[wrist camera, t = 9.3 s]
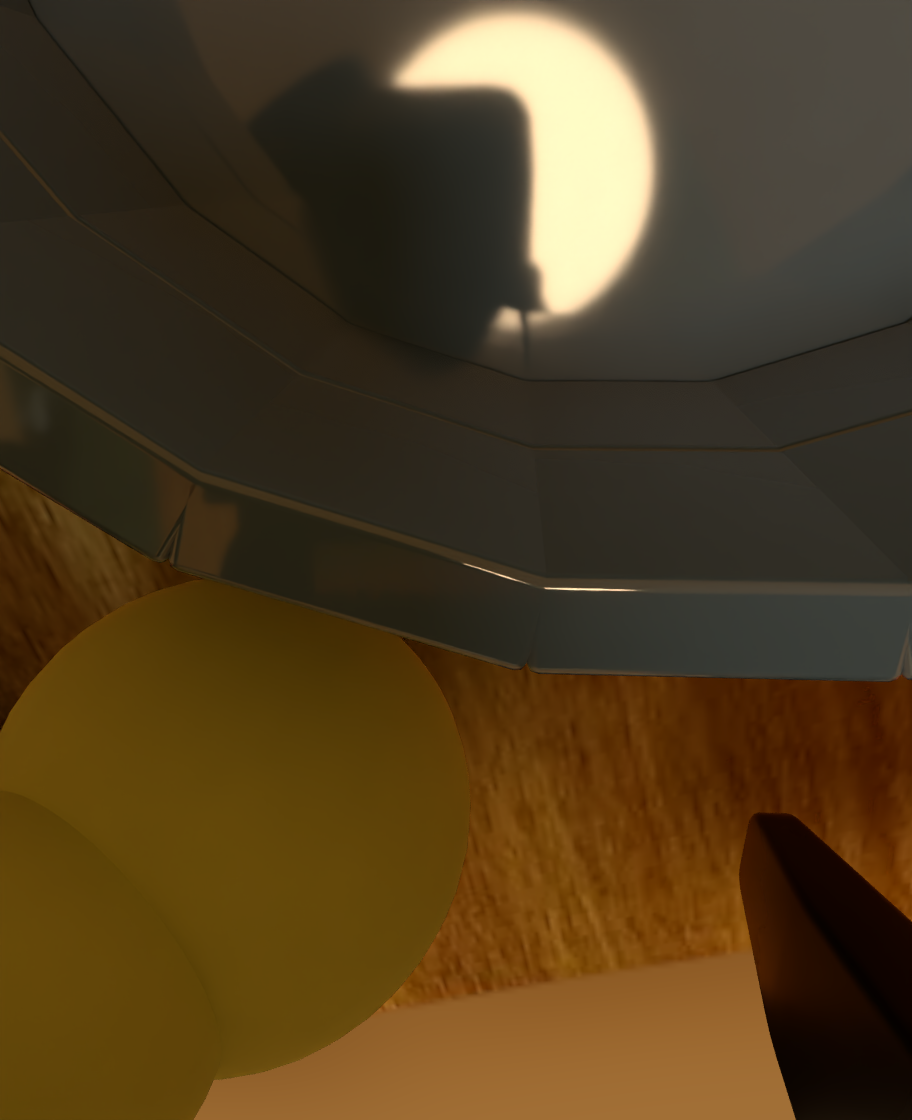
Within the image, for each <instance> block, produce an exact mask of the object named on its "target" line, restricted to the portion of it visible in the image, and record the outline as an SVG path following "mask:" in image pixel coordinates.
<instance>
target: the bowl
mask: <svg viewBox="0 0 912 1120" xmlns="http://www.w3.org/2000/svg"><path fill="white" fill-rule="evenodd" d="M0 469H1V470H2V471H4V472H6V473H7V474H9V475H11V476H12V477H14V478H16V479H17V480H19V481H21V482H22V483H24V484H26V485H27V486H29V487H31V488H32V489H34V490H36V491H37V492H39V493H41V494H42V495H44V496H46V497H47V498H49V499H51V500H52V501H54V502H56V503H57V504H59V505H61V506H62V507H64V508H66V509H67V510H69V511H71V512H72V513H74V514H76V515H77V516H79V517H81V518H82V519H84V520H86V521H87V522H89V523H91V524H92V525H94V526H96V527H97V528H99V529H101V530H102V531H104V532H106V533H107V534H109V535H111V536H112V537H114V538H116V539H117V540H119V541H121V542H122V543H124V544H126V545H127V546H129V547H130V548H132V549H134V550H135V551H137V552H139V553H140V554H142V555H144V556H145V557H147V558H149V559H150V560H152V561H156V562H160V563H161V562H164V561H166V560H168V559H169V562H170V566H171V567H173V568H174V569H176V570H177V571H180V572H183V573H187V574H190V575H193V576H197V577H200V578H204V579H207V580H210V581H214V582H217V583H220V584H224V585H227V586H231V587H234V588H237V589H241V590H244V591H248V592H251V593H254V594H258V595H261V596H264V597H268V598H271V599H275V600H278V601H281V602H285V603H288V604H292V605H295V606H298V607H302V608H305V609H308V610H312V611H315V612H319V613H322V614H325V615H329V616H332V617H336V618H339V619H342V620H346V621H349V622H352V623H356V624H359V625H363V626H366V627H369V628H373V629H376V630H380V631H383V632H386V633H390V634H393V635H397V636H400V637H403V638H407V639H410V640H413V641H417V642H420V643H424V644H427V645H430V646H434V647H437V648H441V649H444V650H447V651H451V652H454V653H457V654H461V655H464V656H468V657H471V658H474V659H478V660H481V661H485V662H488V663H491V664H495V665H498V666H501V667H505V668H508V669H512V670H521V669H522V668H523V667H524V666H525V664H526V663H527V665H528V668H529V669H530V671H532V672H535V673H538V674H569V675H613V676H657V677H701V678H745V679H789V680H833V681H877V682H890V681H893V680H897V679H898V678H899V677H900V676H901V675H902V676H903V677H904V678H906V679H908V680H912V0H0Z"/></svg>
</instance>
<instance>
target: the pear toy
mask: <svg viewBox="0 0 912 1120" xmlns="http://www.w3.org/2000/svg"><path fill="white" fill-rule="evenodd" d="M470 808H471V802H470V789H469V778H468V768H467V762H466V757H465V752H464V748H463V744H462V741H461V738H460V735H459V732H458V729H457V726H456V723H455V720H454V717H453V714H452V712H451V709H450V707H449V705H448V703H447V701H446V699H445V696H444V695H443V693H442V691H441V689H440V688H439V686H438V684H437V682H436V681H435V679H434V678H433V676H432V675H431V673H430V672H429V671H428V669H427V668H426V666H425V665H424V663H423V662H422V661H421V660H420V659H419V657H418V656H417V655H416V654H415V653H414V652H413V650H412V649H411V648H410V647H409V646H408V645H407V644H406V643H405V642H404V641H403V640H402V639H401V638H400V637H399V636H397V635H393V634H390V633H386V632H383V631H380V630H376V629H373V628H369V627H366V626H363V625H359V624H356V623H352V622H349V621H346V620H342V619H339V618H336V617H332V616H329V615H325V614H322V613H319V612H315V611H312V610H308V609H305V608H302V607H298V606H295V605H292V604H288V603H285V602H281V601H278V600H275V599H271V598H268V597H264V596H261V595H258V594H254V593H251V592H248V591H244V590H241V589H237V588H234V587H231V586H227V585H224V584H220V583H217V582H214V581H210V580H207V579H200V580H193V581H189V582H186V583H182V584H179V585H175V586H172V587H168V588H165V589H161V590H158V591H155V592H152V593H149V594H147V595H145V596H142V597H140V598H138V599H136V600H133V601H131V602H129V603H127V604H125V605H123V606H121V607H119V608H118V609H116V610H114V611H113V612H111V613H110V614H108V615H106V616H105V617H103V618H102V619H100V620H98V621H97V622H95V623H94V624H92V625H91V626H89V627H87V628H86V629H84V630H83V631H82V632H81V633H79V634H78V635H77V636H76V637H75V638H74V639H72V640H71V641H70V642H69V643H68V644H66V645H65V646H64V647H63V648H62V649H60V650H59V652H58V653H57V654H56V655H55V656H54V657H53V658H52V659H51V660H50V661H49V663H48V664H47V665H46V666H45V667H44V668H43V669H42V670H41V671H40V672H39V674H38V675H37V676H36V677H35V678H34V679H33V680H32V681H31V682H30V683H29V685H28V686H27V688H26V689H25V691H24V692H23V694H22V695H21V697H20V698H19V699H18V701H17V702H16V704H15V705H14V707H13V708H12V710H11V711H10V713H9V715H8V717H7V719H6V721H5V723H4V725H3V727H2V729H1V731H0V1120H193V1119H194V1118H195V1116H196V1114H197V1113H198V1111H199V1109H200V1107H201V1106H202V1104H203V1102H204V1100H205V1099H206V1096H207V1094H208V1092H209V1089H210V1087H211V1085H212V1082H213V1080H217V1079H218V1080H219V1079H227V1078H233V1077H239V1076H245V1075H250V1074H256V1073H260V1072H265V1071H268V1070H271V1069H274V1068H277V1067H280V1066H283V1065H286V1064H289V1063H292V1062H295V1061H298V1060H300V1059H302V1058H304V1057H306V1056H308V1055H310V1054H312V1053H314V1052H316V1051H318V1050H320V1049H322V1048H324V1047H326V1046H328V1045H330V1044H331V1043H333V1042H335V1041H336V1040H338V1039H340V1038H341V1037H343V1036H344V1035H345V1034H347V1033H348V1032H350V1031H351V1030H352V1029H354V1028H355V1027H357V1026H358V1025H360V1024H361V1023H362V1022H364V1021H365V1020H367V1019H368V1018H369V1017H370V1016H371V1015H372V1014H373V1013H374V1012H375V1011H377V1010H378V1009H379V1008H380V1007H381V1006H382V1005H383V1004H384V1003H385V1002H386V1001H387V1000H388V999H389V998H390V997H391V996H392V995H393V994H394V993H395V992H396V991H397V990H398V989H399V988H400V986H401V985H402V984H403V983H404V982H405V980H406V979H407V978H408V977H409V975H410V974H411V973H412V972H413V970H414V969H415V968H416V967H417V965H418V964H419V963H420V962H421V960H422V959H423V957H424V956H425V954H426V952H427V950H428V949H429V947H430V945H431V944H432V942H433V940H434V939H435V937H436V935H437V934H438V932H439V930H440V928H441V926H442V924H443V922H444V920H445V918H446V916H447V913H448V911H449V908H450V906H451V903H452V901H453V898H454V896H455V894H456V891H457V887H458V883H459V879H460V876H461V872H462V868H463V864H464V859H465V855H466V851H467V846H468V834H469V821H470Z"/></svg>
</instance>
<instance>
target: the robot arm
mask: <svg viewBox="0 0 912 1120" xmlns="http://www.w3.org/2000/svg"><path fill="white" fill-rule="evenodd" d="M739 881H740V890H741V895H742V900H743V905H744V910H745V915H746V920H747V925H748V930H749V935H750V940H751V945H752V950H753V955H754V960H755V965H756V969H757V975H758V979H759V985H760V989H761V994H762V999H763V1004H764V1009H765V1014H766V1019H767V1023H768V1027H769V1032H770V1036H771V1039H772V1043H773V1047H774V1050H775V1054H776V1057H777V1061H778V1064H779V1067H780V1070H781V1073H782V1076H783V1080H784V1083H785V1086H786V1089H787V1093H788V1096H789V1099H790V1102H791V1105H792V1109H793V1112H794V1115H795V1118H796V1120H912V921H911V920H909V919H908V918H907V917H906V916H905V915H904V914H903V913H902V912H901V911H899V910H898V909H897V908H896V907H895V906H894V905H893V904H892V903H891V902H890V901H888V900H887V899H886V898H885V897H884V896H883V895H882V894H881V893H880V892H878V891H877V890H876V889H875V888H874V887H873V886H872V885H871V884H870V883H869V882H867V881H866V880H865V879H864V878H863V877H862V876H861V875H860V874H859V873H857V872H856V871H855V870H854V869H853V868H852V867H851V866H850V865H849V864H848V863H846V862H845V861H844V860H843V859H842V858H841V857H840V856H839V855H838V854H837V853H835V852H834V851H833V850H832V849H831V848H830V847H829V846H828V845H827V844H825V843H824V842H823V841H822V840H821V839H820V838H819V837H818V836H817V835H816V834H814V833H813V832H812V831H811V830H810V829H809V828H808V827H807V826H806V825H804V824H803V823H802V822H801V821H800V820H799V819H798V818H796V817H795V816H793V815H791V814H787V813H756V814H754V815H752V817H751V819H750V821H749V824H748V829H747V834H746V839H745V844H744V849H743V854H742V858H741V863H740V871H739Z"/></svg>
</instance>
